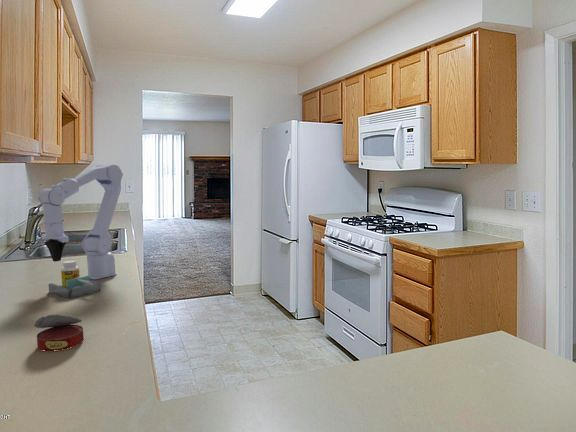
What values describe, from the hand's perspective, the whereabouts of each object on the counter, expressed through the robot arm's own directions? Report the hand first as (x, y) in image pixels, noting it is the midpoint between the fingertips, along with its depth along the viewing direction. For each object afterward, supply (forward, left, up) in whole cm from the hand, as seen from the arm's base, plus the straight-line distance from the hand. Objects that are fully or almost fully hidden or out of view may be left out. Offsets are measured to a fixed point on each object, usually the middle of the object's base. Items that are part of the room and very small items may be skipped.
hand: (56, 260), depth 157 cm
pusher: (0, +17, -9) cm, 20 cm away
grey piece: (0, +11, -10) cm, 14 cm away
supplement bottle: (0, +9, -10) cm, 13 cm away
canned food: (+27, +53, -10) cm, 60 cm away
